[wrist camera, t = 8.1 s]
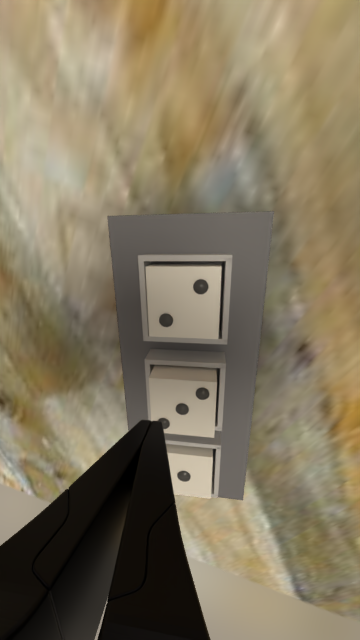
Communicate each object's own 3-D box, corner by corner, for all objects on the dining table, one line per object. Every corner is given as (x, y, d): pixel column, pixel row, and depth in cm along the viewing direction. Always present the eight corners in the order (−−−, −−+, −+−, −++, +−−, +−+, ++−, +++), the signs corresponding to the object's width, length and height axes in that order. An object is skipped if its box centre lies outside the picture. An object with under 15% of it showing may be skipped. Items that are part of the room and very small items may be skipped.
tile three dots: (216, 368, 18) (216, 383, 16) (213, 419, 19) (214, 439, 17) (154, 364, 19) (148, 378, 17) (157, 414, 20) (151, 432, 18)
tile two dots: (220, 264, 16) (221, 266, 14) (217, 329, 18) (218, 339, 16) (152, 264, 17) (145, 266, 15) (155, 327, 18) (149, 337, 16)
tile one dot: (212, 438, 21) (212, 458, 19) (210, 477, 23) (210, 499, 21) (160, 433, 22) (155, 452, 20) (162, 472, 23) (157, 493, 21)
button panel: (268, 214, 17) (282, 206, 14) (241, 486, 25) (245, 521, 22) (115, 218, 18) (94, 212, 15) (138, 473, 27) (127, 505, 24)
